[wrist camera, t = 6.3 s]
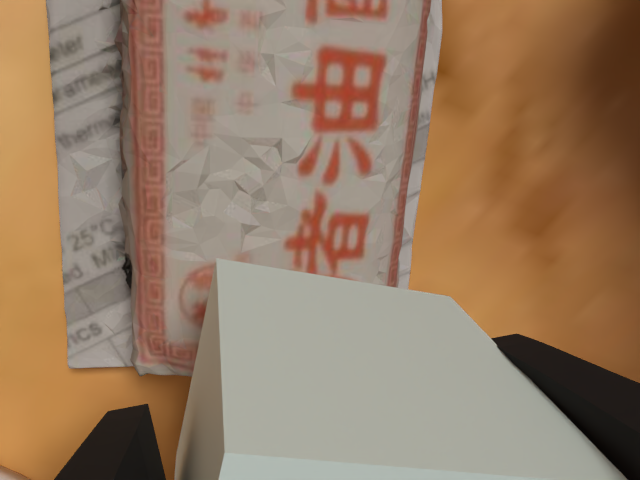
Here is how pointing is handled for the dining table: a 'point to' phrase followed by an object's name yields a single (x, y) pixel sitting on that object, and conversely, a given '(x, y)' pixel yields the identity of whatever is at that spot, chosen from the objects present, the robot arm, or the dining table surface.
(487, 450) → the mint block
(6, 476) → the saucer
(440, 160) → the dining table surface
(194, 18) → the packaged product
